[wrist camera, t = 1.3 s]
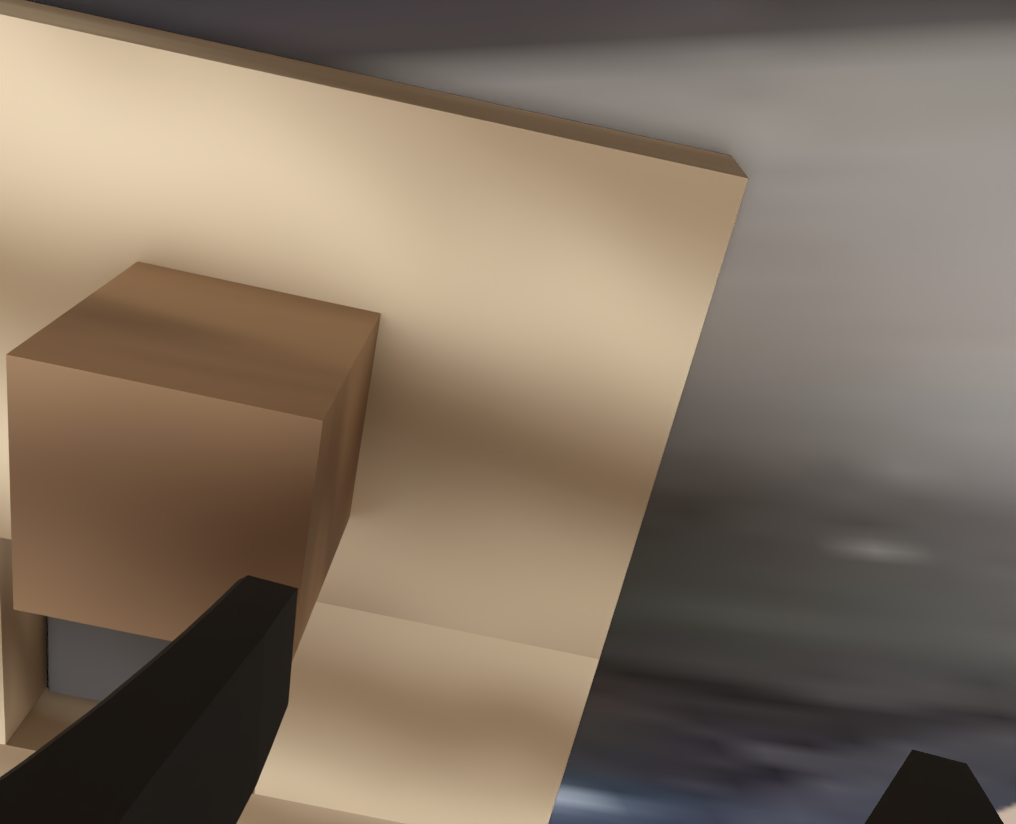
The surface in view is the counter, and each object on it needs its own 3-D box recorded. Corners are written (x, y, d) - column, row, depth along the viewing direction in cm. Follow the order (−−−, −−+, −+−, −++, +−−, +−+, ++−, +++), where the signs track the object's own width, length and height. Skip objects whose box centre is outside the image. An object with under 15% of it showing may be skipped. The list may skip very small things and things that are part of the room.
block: (349, 517, 20) (290, 665, 16) (130, 472, 20) (13, 609, 15) (380, 313, 18) (322, 421, 14) (137, 261, 18) (6, 354, 14)
